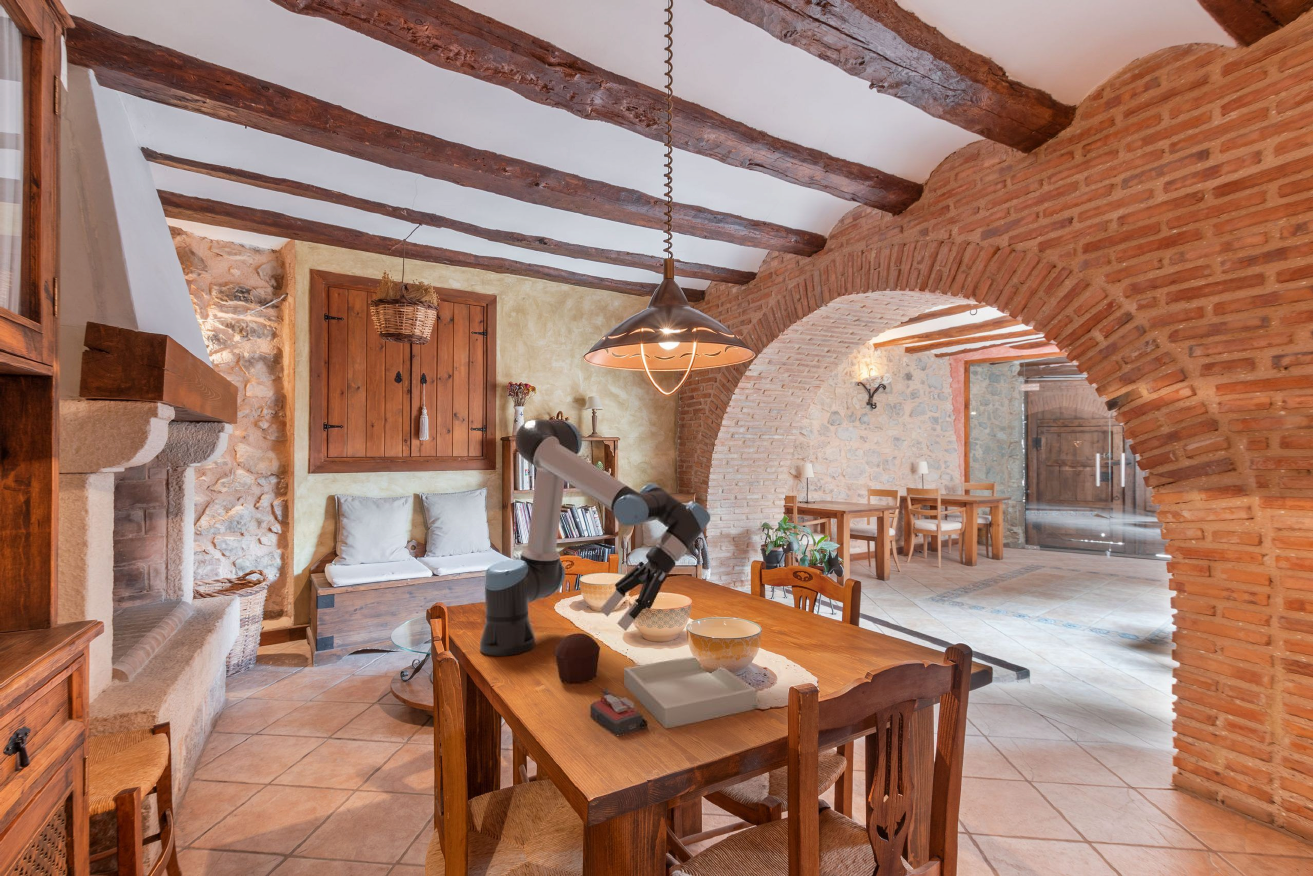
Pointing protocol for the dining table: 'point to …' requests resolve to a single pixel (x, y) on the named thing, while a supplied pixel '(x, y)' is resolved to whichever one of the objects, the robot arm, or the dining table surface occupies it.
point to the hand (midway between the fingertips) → (611, 620)
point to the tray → (688, 691)
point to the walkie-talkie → (617, 714)
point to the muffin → (577, 658)
